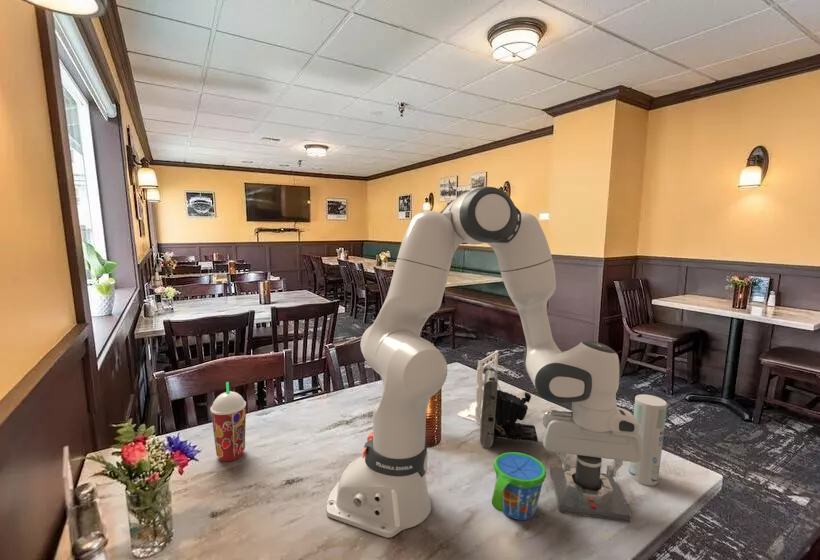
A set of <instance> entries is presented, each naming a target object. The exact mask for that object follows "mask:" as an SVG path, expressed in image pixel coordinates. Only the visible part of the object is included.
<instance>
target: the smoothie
mask: <svg viewBox="0 0 820 560" xmlns="http://www.w3.org/2000/svg"><path fill="white" fill-rule="evenodd" d="M229 383H230V382H229V381H226V382H225V388H226V389H225V391H224V392H222V393H220V394H219V395H218V396H217V397H216V398H215V400H214V401H213V403H212V405H211V406H210V408H209V409H210V415H211V423H212V430H213V437H214V444H215V445H214V446H215V451H216V452H215V453H216V456H217V457H218V458H219V460H220V461H223V462H231V461H235V460H237V459H239V458H240V457H242V456H243V453H244V451H245V449H246V423H247V422H246V419H247V417H246V415H247V401H245V400H244V398H243V396H242V395H241V394H239V393H238V392H236V391H231V390H230V385H229Z"/></svg>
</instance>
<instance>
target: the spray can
mask: <svg viewBox="0 0 820 560" xmlns="http://www.w3.org/2000/svg"><path fill="white" fill-rule="evenodd" d="M633 407H634V408H633V416H634V417H635V418H636V420H637V421H638V423H639V425H640V431H639V432H638V433H639V434H640V436H641V438H642V445H643V454H642V459H641V460H640V461H639V462H629V461H628V463H629V464H628V475H629V477H630V478H631V479H632V480H633V481H635V482H636V483H638V484H641V485H644V486H655V485H657V484H658V482H659V476H660V467H661V459H662V450H663V444H664V443H663V441H664V434H665V426H666V419H667V411H668V410H667V409H668V403H667V401H666V400H664V399H663V398H661V397H659V396H655V395H651V394H646V393H645V394H637V395H636V396H635V397H634V406H633Z"/></svg>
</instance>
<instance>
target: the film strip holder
mask: <svg viewBox="0 0 820 560" xmlns="http://www.w3.org/2000/svg"><path fill="white" fill-rule="evenodd" d="M491 359H492V360H491ZM487 361H488V362H487ZM492 363H494V367H493V369H494V370H495V371H496V372H497V373H498V366H499V365H498V363H499V350H495V351H494V352H493V353H491V354H490V355H488V356H487V357H485V358H482V359H481V360H478V361H477V368H476V389H475V401H473V402H471V403H469V404H468V408H465V410H460V411H458V413H457V417H459V418H461V419H464V420H467V421H471V422H473V423H475V424H477V425H478V426H480V423H481V414H482V403H483V391H484V389H483V387H484V379H483V374H484V370H485V368H486V367H488V366H490V365H491V364H492ZM483 364H484V365H483ZM497 385H498V388H497V389H498V390H501V391H502V389H501V386H500V384H499V383H498V384H497ZM469 416H473V417H474V418H472V417H469Z"/></svg>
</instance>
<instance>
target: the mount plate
mask: <svg viewBox="0 0 820 560" xmlns="http://www.w3.org/2000/svg"><path fill="white" fill-rule="evenodd" d="M549 470H550V473H549V474H550V477H551V481H552V486H553V492H554V495H555V499H556V503H557V508H558V511H559V512H562V513H568V514H574V515H580V516H586V517H587V516H588V517H594V518H599V519H607V520H612V521H619V522H620V521H621V522H624V523H625V522H626V523H631V519H632V515H631V512H630V510H629V509H628V506H627V504H626V502H625V500H624V497H623V496H622V494H621V491H620V489H619V487H618V485H617V483H616V481H615V478H614V477H610V476H608V474H607V473H603V472H602V473H601V472H600V481H599V491H595V490H587V489H584V488H582V487H580V486H579V485H577V484H576V483H575V474H576V466H574V467H572V468H570V471H566V470H563V467H557V466H550V469H549Z"/></svg>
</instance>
